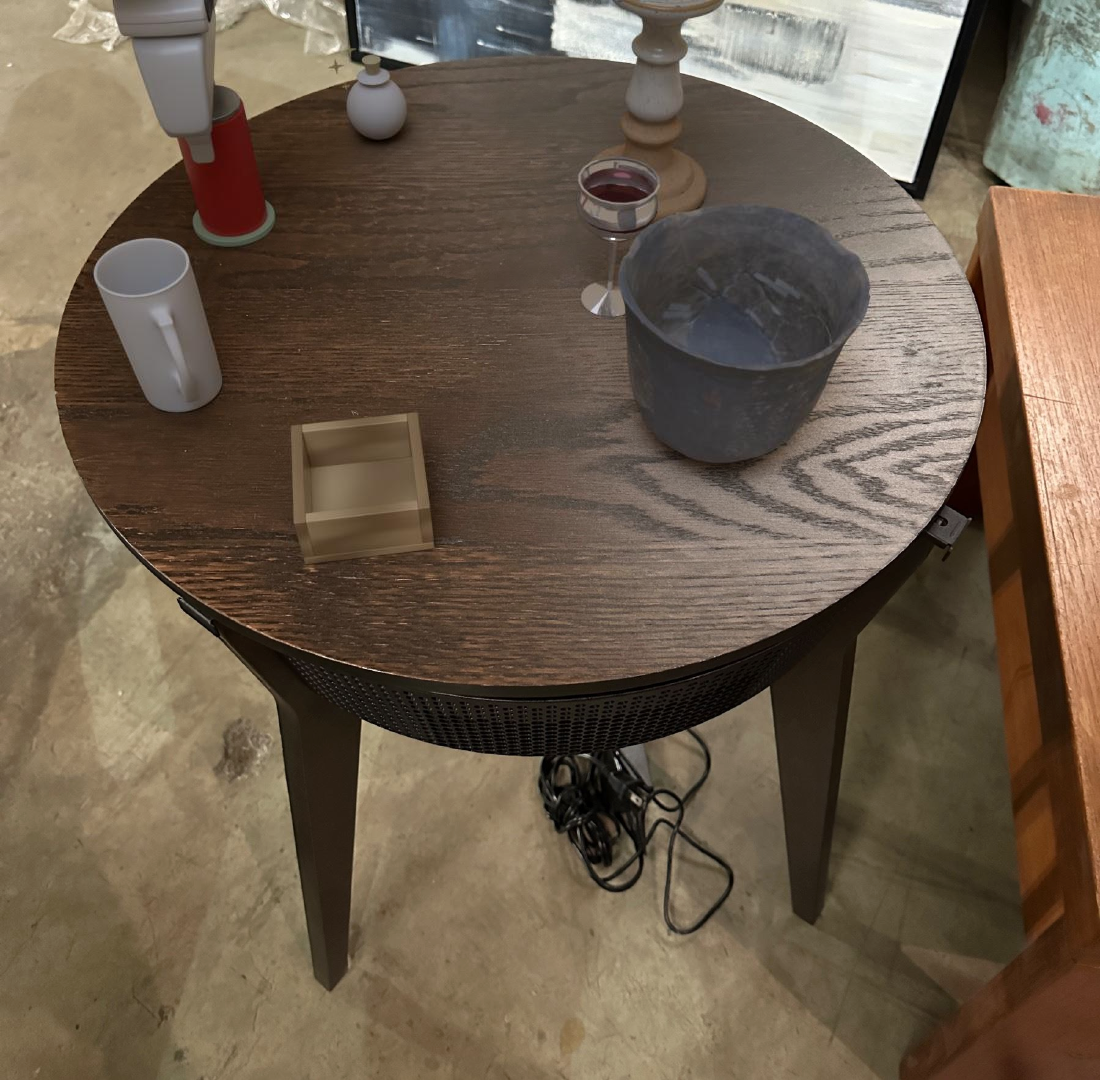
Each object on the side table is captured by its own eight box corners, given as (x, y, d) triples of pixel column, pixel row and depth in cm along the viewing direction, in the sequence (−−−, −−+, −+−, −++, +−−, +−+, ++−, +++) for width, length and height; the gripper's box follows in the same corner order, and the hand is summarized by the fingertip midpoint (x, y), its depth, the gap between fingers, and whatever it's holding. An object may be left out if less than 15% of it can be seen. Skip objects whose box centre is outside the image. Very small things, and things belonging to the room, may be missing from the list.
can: (199, 239, 95) (166, 124, 86) (202, 200, 99) (169, 85, 90) (268, 234, 96) (241, 119, 87) (267, 195, 100) (242, 80, 90)
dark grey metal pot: (845, 511, 78) (904, 364, 66) (614, 518, 77) (632, 370, 65) (797, 351, 89) (841, 200, 77) (594, 355, 88) (606, 203, 76)
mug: (132, 372, 85) (84, 252, 76) (212, 348, 87) (175, 228, 78) (164, 453, 80) (116, 335, 70) (248, 426, 82) (213, 307, 72)
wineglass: (566, 276, 94) (571, 158, 85) (639, 272, 95) (652, 154, 85) (576, 325, 90) (583, 207, 80) (652, 321, 91) (668, 202, 81)
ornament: (416, 145, 106) (407, 50, 98) (345, 158, 105) (331, 62, 97) (400, 115, 110) (390, 20, 102) (331, 127, 108) (316, 32, 100)
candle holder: (579, 153, 106) (589, -55, 90) (697, 153, 107) (728, -54, 91) (586, 226, 99) (599, 13, 83) (713, 225, 99) (750, 14, 83)
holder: (305, 565, 74) (293, 523, 70) (301, 468, 79) (290, 425, 75) (434, 549, 75) (430, 507, 71) (422, 455, 80) (417, 411, 77)
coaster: (192, 250, 95) (190, 244, 95) (195, 201, 100) (193, 196, 99) (276, 243, 96) (275, 237, 96) (275, 195, 100) (274, 190, 100)
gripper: (131, -93, 85) (174, 70, 96) (112, 25, 73) (163, 197, 84) (210, -96, 86) (243, 66, 97) (203, 21, 73) (242, 191, 84)
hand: (206, 128), depth 90 cm, fingers open, 8 cm apart
